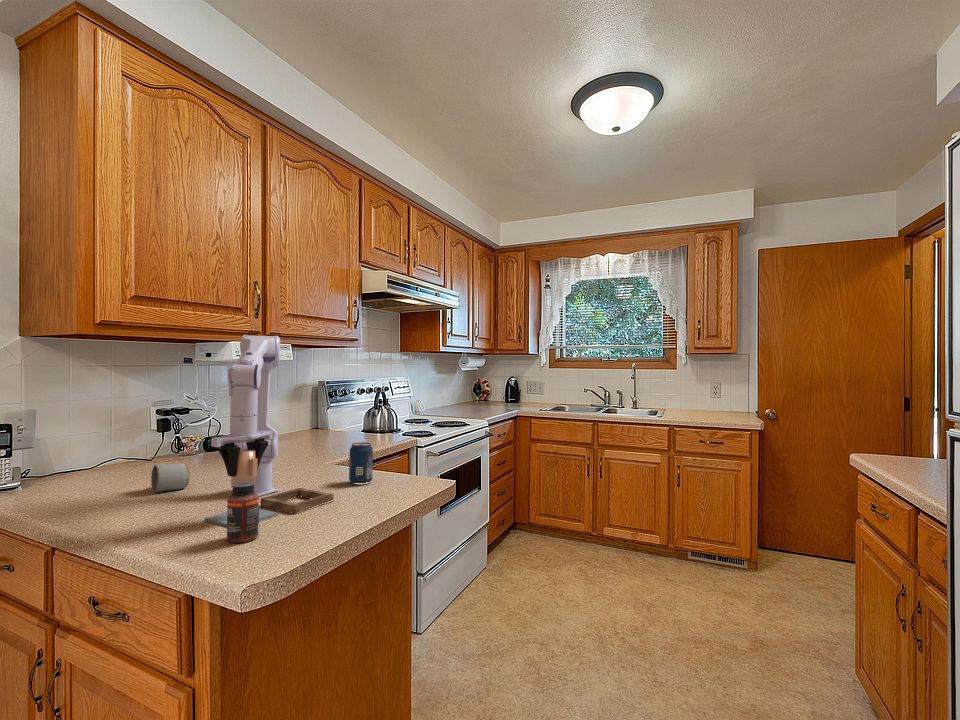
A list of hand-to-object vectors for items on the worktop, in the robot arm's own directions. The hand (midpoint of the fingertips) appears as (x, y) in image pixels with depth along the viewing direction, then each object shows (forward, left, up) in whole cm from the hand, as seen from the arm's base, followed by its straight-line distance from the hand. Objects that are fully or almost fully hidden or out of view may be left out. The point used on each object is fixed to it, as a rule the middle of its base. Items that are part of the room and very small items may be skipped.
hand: (242, 473), depth 113 cm
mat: (0, 0, -10) cm, 10 cm away
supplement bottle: (+12, -9, -11) cm, 18 cm away
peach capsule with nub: (0, 0, -3) cm, 3 cm away
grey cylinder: (-41, +6, -11) cm, 43 cm away
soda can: (+1, +39, -11) cm, 41 cm away
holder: (+2, +14, -10) cm, 18 cm away
